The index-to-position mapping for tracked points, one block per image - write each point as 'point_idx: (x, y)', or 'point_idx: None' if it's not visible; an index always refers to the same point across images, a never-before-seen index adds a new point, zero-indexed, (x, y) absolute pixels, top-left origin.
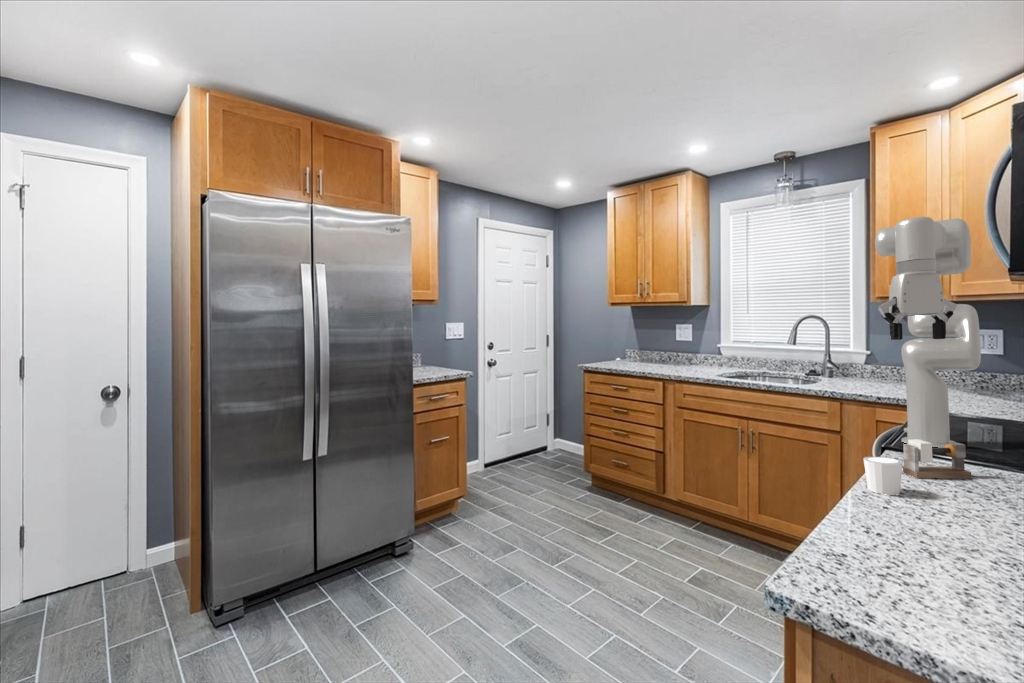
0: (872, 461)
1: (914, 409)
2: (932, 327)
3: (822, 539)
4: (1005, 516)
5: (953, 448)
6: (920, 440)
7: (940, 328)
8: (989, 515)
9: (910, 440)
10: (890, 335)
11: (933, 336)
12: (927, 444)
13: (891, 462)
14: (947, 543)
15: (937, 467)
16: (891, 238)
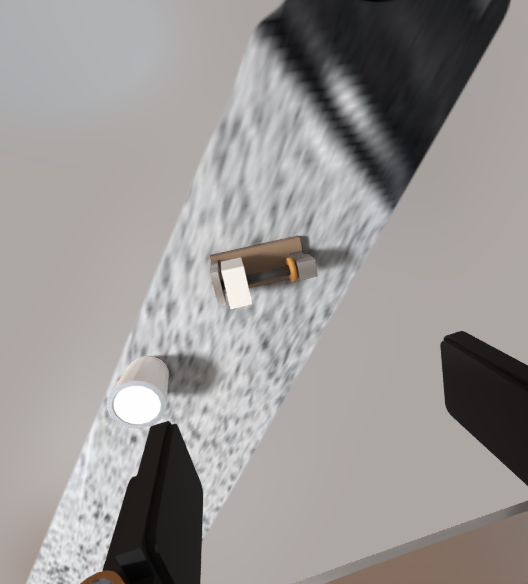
0: (117, 419)
1: None
2: (513, 384)
3: (49, 545)
4: (256, 431)
5: (293, 281)
6: (241, 277)
7: (503, 451)
8: (241, 433)
9: (223, 277)
10: (132, 482)
11: (450, 353)
12: (243, 305)
13: (148, 415)
14: None
15: (267, 252)
16: None
